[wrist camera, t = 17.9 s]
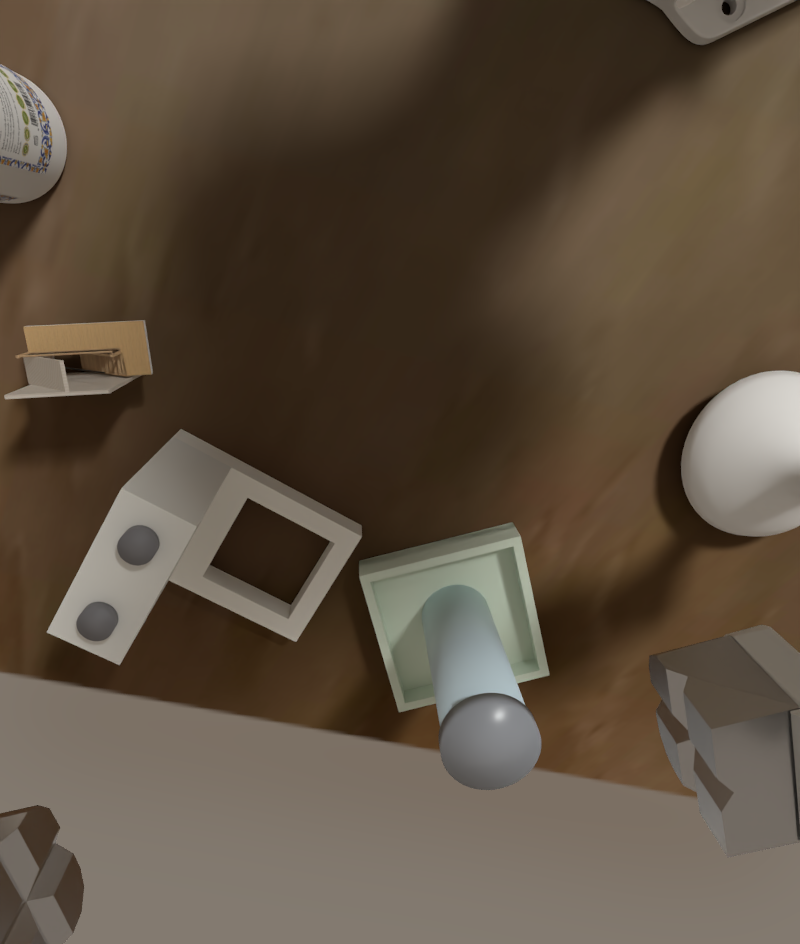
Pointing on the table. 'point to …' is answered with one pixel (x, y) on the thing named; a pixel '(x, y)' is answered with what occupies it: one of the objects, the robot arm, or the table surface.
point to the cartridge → (476, 693)
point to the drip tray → (439, 565)
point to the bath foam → (28, 140)
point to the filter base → (190, 548)
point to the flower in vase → (747, 456)
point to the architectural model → (84, 358)
